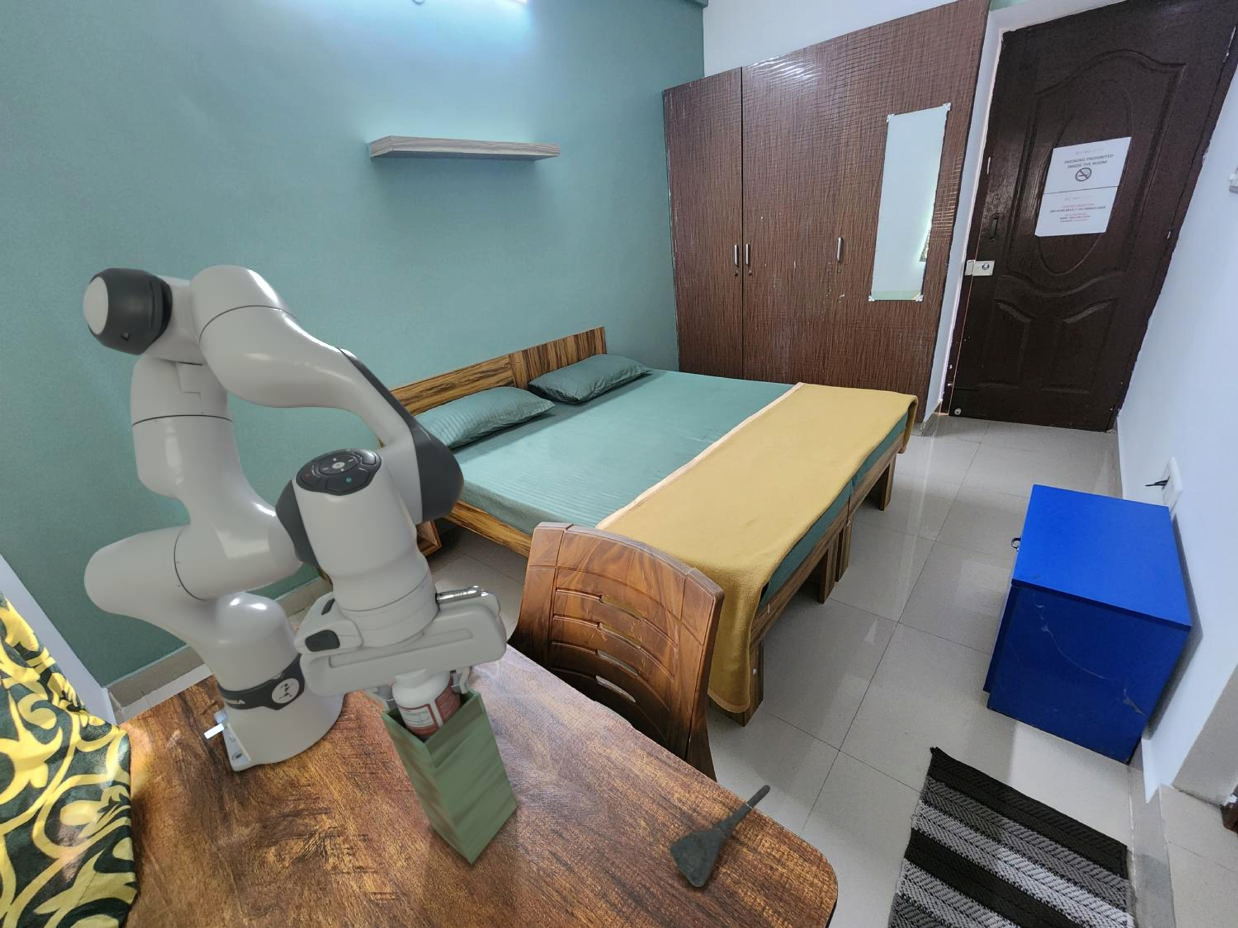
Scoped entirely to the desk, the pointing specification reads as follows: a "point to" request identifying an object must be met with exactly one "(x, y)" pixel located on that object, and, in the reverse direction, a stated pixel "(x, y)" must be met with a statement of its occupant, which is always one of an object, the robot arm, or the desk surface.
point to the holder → (458, 775)
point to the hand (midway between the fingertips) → (428, 697)
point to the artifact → (709, 843)
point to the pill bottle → (425, 701)
